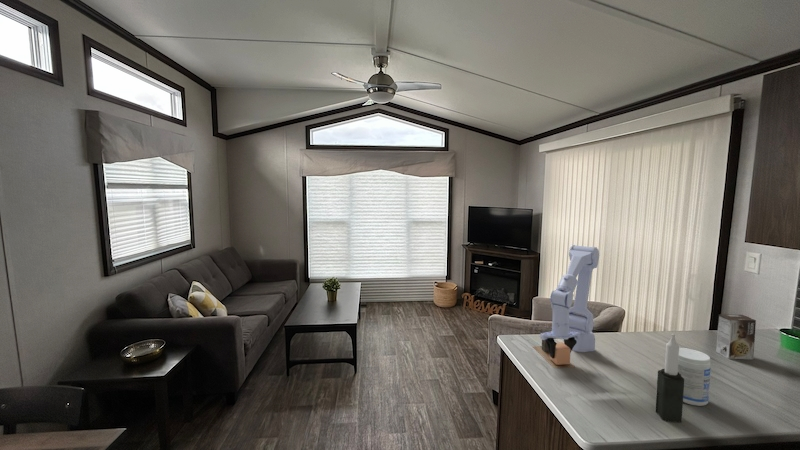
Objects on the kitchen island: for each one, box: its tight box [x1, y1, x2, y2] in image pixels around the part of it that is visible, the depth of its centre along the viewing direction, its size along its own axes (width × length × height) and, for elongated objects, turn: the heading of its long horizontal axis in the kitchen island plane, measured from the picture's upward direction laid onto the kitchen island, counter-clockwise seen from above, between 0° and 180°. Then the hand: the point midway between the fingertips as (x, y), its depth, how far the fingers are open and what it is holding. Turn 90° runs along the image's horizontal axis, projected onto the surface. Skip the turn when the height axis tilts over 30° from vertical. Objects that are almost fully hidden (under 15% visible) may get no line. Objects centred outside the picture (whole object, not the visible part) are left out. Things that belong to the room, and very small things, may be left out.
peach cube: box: [549, 342, 571, 365], centre depth 129 cm, size 5×5×6 cm
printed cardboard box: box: [715, 313, 757, 360], centre depth 136 cm, size 9×6×16 cm
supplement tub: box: [678, 347, 712, 407], centre depth 108 cm, size 10×10×15 cm
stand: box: [532, 339, 576, 369], centre depth 134 cm, size 8×18×6 cm, turn 4°
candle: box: [655, 333, 684, 423], centre depth 99 cm, size 5×5×25 cm
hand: (559, 356), depth 129 cm, fingers closed on peach cube, 5 cm apart
